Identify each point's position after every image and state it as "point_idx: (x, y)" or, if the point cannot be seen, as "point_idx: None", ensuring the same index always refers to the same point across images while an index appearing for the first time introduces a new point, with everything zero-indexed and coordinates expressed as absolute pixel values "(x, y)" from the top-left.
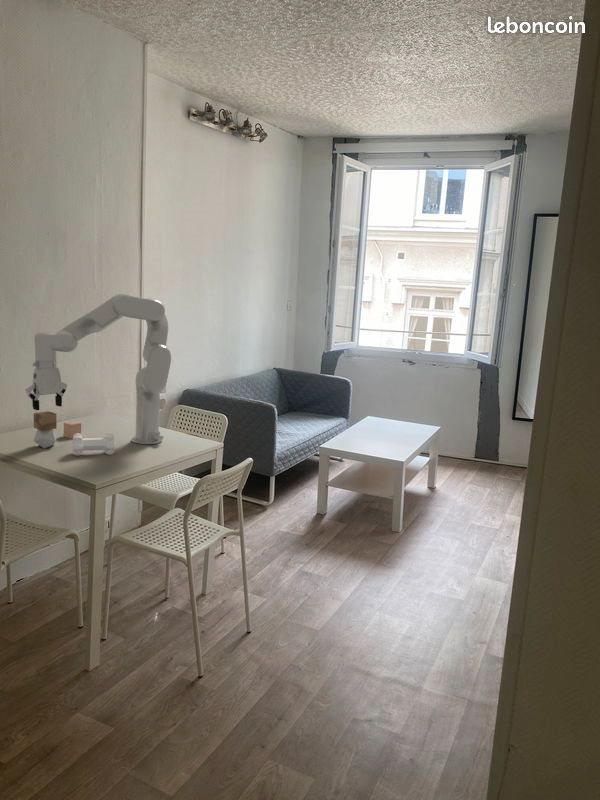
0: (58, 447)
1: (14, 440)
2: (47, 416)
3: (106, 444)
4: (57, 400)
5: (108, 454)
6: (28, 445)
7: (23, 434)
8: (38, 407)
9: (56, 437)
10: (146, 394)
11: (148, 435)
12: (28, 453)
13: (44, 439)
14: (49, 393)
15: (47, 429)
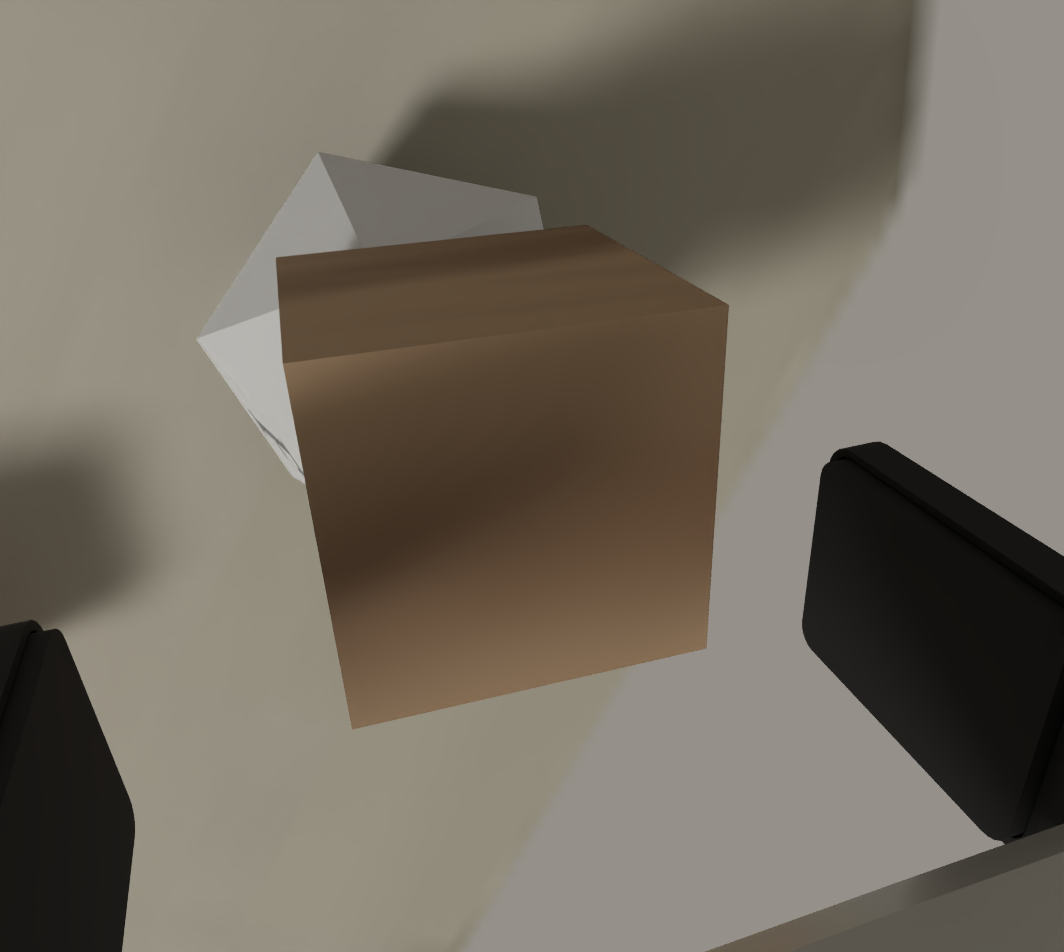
0: (248, 165)
1: (547, 686)
2: (569, 309)
3: None
4: (71, 901)
5: None
6: None
7: (368, 853)
8: (912, 474)
9: (262, 241)
10: None
11: None
12: (714, 110)
13: (504, 193)
14: (955, 897)
15: (483, 238)
